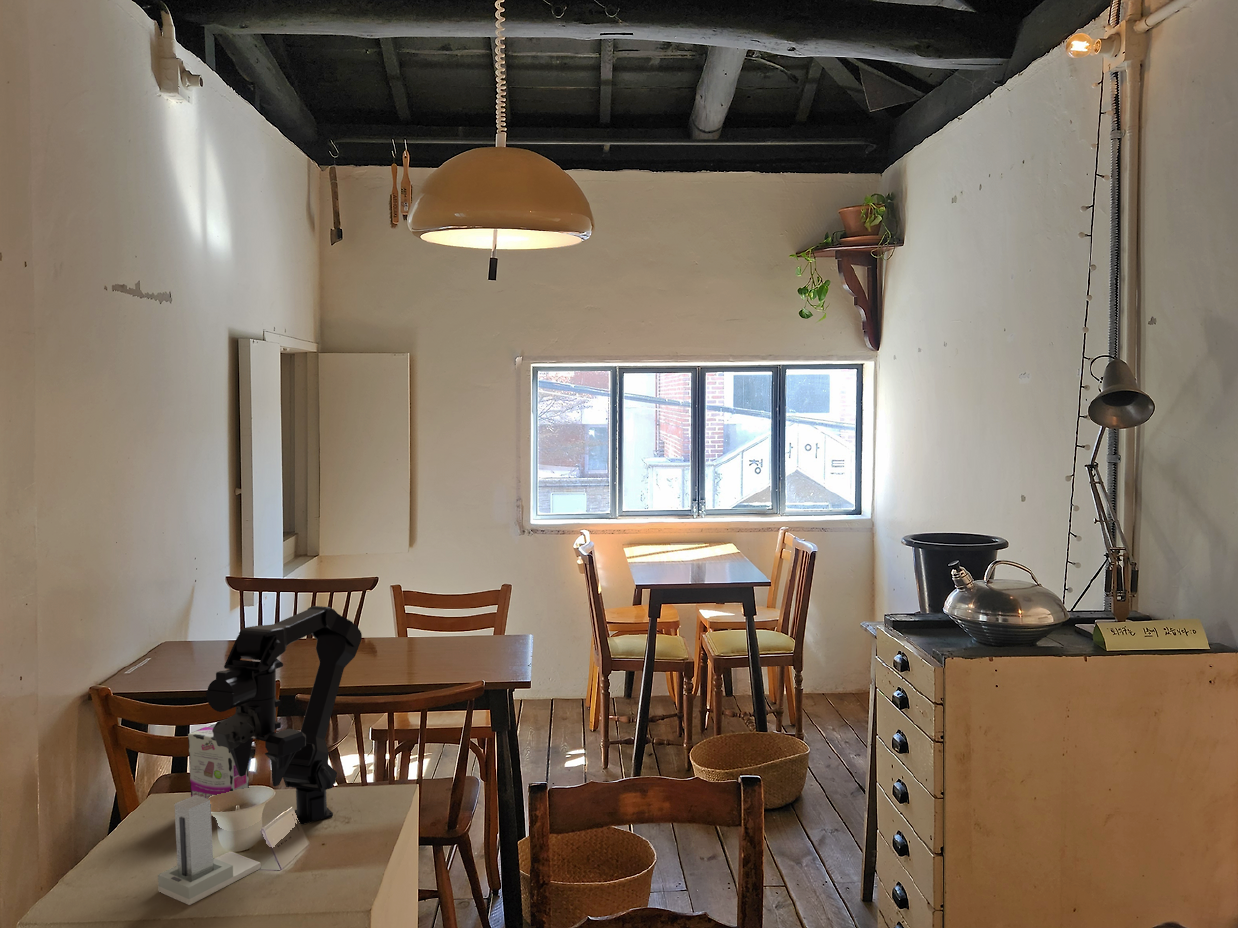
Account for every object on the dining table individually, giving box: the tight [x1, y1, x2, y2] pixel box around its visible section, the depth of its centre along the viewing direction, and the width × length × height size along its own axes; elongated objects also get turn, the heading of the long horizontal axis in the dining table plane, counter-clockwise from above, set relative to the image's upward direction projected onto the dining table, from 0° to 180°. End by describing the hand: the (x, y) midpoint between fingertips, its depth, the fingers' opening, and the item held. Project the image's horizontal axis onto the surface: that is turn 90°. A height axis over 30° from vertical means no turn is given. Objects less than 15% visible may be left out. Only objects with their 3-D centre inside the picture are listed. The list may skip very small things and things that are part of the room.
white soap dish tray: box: [157, 850, 262, 906], centre depth 164 cm, size 14×8×3 cm, turn 149°
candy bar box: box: [187, 726, 250, 799], centre depth 190 cm, size 11×5×16 cm, turn 68°
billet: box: [174, 795, 214, 882], centre depth 161 cm, size 4×4×14 cm
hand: (259, 780), depth 174 cm, fingers open, 9 cm apart
